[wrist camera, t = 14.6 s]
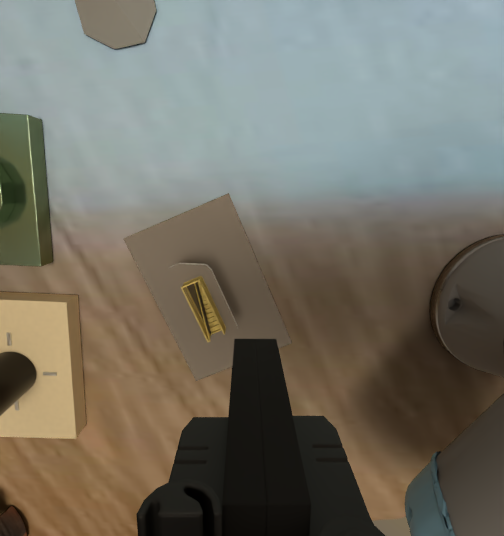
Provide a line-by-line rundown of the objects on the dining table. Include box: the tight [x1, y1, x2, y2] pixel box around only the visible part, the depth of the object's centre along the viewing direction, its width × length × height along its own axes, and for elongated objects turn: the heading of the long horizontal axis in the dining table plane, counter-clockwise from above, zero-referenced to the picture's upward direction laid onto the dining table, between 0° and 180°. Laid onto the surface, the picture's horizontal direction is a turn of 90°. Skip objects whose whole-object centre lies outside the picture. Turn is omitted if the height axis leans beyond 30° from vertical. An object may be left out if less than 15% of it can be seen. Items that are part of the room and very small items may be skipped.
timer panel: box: [0, 292, 86, 439], centre depth 37 cm, size 16×12×3 cm
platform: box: [124, 193, 292, 381], centre depth 33 cm, size 12×18×6 cm, turn 23°
